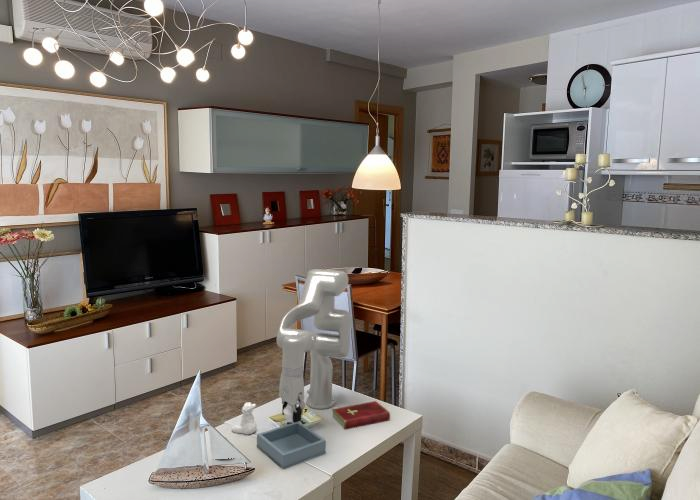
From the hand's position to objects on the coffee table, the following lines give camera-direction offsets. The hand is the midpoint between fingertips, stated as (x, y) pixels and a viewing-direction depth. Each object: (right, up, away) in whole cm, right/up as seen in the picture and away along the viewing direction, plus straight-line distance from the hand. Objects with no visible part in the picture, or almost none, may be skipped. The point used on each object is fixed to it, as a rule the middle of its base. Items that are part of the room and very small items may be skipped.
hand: (291, 417), depth 193 cm
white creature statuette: (-19, -10, +15) cm, 26 cm away
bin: (0, -13, +2) cm, 13 cm away
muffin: (0, -1, 0) cm, 1 cm away
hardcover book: (+25, -10, +29) cm, 40 cm away
